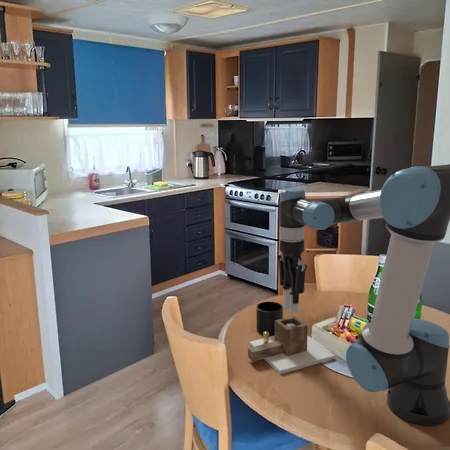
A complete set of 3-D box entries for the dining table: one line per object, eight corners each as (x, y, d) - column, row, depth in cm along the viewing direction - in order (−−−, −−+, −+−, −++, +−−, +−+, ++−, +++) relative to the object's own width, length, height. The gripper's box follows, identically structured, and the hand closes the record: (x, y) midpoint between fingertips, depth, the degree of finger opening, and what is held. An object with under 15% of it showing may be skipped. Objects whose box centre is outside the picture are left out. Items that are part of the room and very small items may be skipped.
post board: (334, 358, 140) (335, 331, 138) (280, 374, 132) (280, 346, 130) (299, 332, 158) (299, 308, 156) (249, 345, 150) (249, 319, 148)
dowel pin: (269, 343, 148) (269, 332, 147) (265, 345, 147) (265, 334, 146) (267, 341, 150) (267, 330, 149) (262, 342, 149) (262, 331, 148)
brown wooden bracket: (293, 340, 150) (294, 316, 148) (307, 350, 143) (307, 325, 141) (244, 353, 142) (244, 327, 140) (256, 364, 135) (255, 337, 133)
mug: (275, 320, 169) (275, 297, 166) (286, 334, 157) (286, 310, 155) (251, 322, 167) (251, 300, 165) (260, 337, 155) (260, 313, 153)
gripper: (317, 243, 131) (315, 317, 136) (288, 232, 145) (288, 299, 150) (295, 246, 128) (294, 322, 133) (268, 235, 142) (268, 303, 147)
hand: (291, 310), depth 142 cm, fingers open, 3 cm apart
